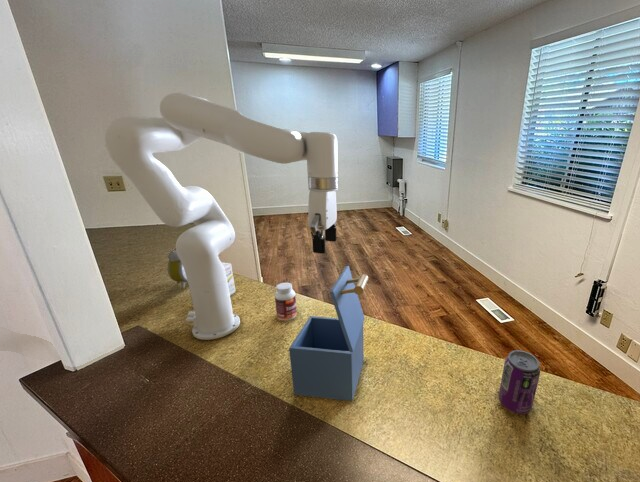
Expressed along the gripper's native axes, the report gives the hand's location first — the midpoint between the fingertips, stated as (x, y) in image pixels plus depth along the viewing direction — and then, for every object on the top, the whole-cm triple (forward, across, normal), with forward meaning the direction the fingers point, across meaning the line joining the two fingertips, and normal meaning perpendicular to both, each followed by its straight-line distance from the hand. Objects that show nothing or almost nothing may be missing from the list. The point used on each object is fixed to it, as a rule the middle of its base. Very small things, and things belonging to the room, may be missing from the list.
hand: (325, 246), depth 83 cm
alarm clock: (+28, -21, -64) cm, 73 cm away
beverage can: (+26, +20, +50) cm, 60 cm away
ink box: (+28, -14, -46) cm, 55 cm away
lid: (+7, +19, +11) cm, 23 cm away
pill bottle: (+27, -5, -16) cm, 32 cm away
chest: (+27, +18, +7) cm, 33 cm away
